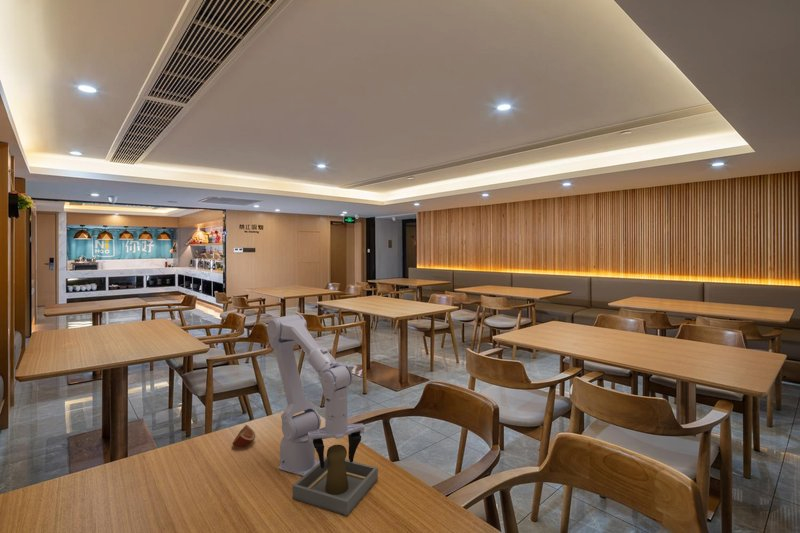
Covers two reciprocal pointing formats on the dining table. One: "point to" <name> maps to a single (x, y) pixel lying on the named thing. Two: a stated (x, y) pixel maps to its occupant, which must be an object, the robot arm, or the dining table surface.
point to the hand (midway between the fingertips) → (336, 463)
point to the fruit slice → (244, 437)
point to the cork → (336, 470)
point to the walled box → (315, 494)
